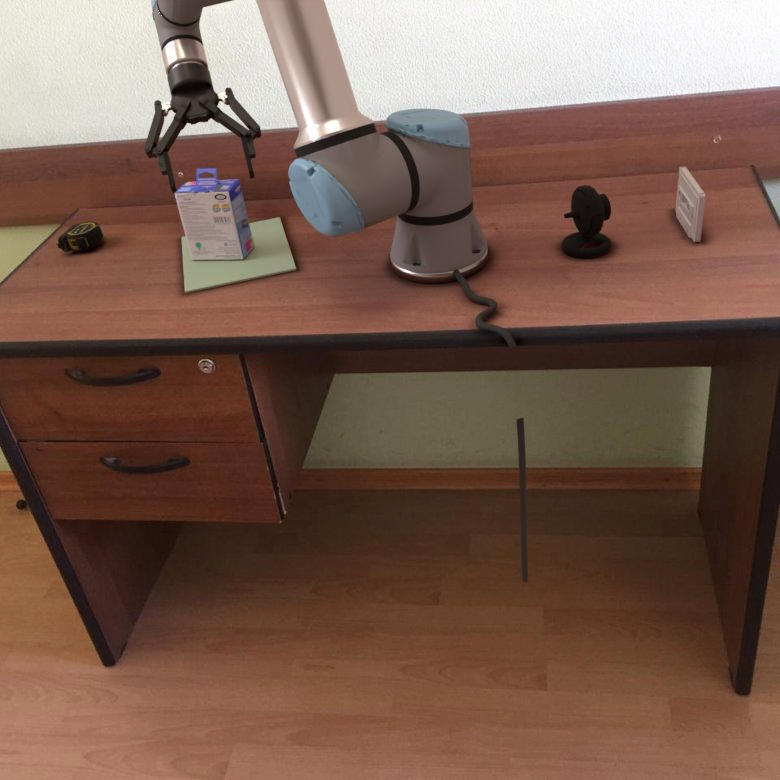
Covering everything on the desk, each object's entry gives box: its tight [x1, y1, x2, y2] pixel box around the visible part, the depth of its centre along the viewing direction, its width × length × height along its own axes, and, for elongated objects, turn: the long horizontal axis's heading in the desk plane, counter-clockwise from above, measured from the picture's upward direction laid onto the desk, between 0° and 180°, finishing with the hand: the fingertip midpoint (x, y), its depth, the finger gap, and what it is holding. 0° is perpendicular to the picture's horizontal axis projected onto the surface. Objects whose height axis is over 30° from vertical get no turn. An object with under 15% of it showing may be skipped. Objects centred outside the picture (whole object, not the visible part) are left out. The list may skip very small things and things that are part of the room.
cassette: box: [675, 165, 707, 243], centre depth 129 cm, size 12×2×8 cm, turn 178°
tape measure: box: [56, 220, 104, 252], centre depth 151 cm, size 7×7×4 cm
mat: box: [181, 216, 297, 294], centre depth 142 cm, size 22×18×1 cm
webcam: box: [561, 184, 612, 259], centre depth 126 cm, size 8×8×10 cm
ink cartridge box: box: [173, 167, 254, 260], centre depth 137 cm, size 10×6×14 cm, turn 79°
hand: (213, 182), depth 144 cm, fingers open, 13 cm apart
